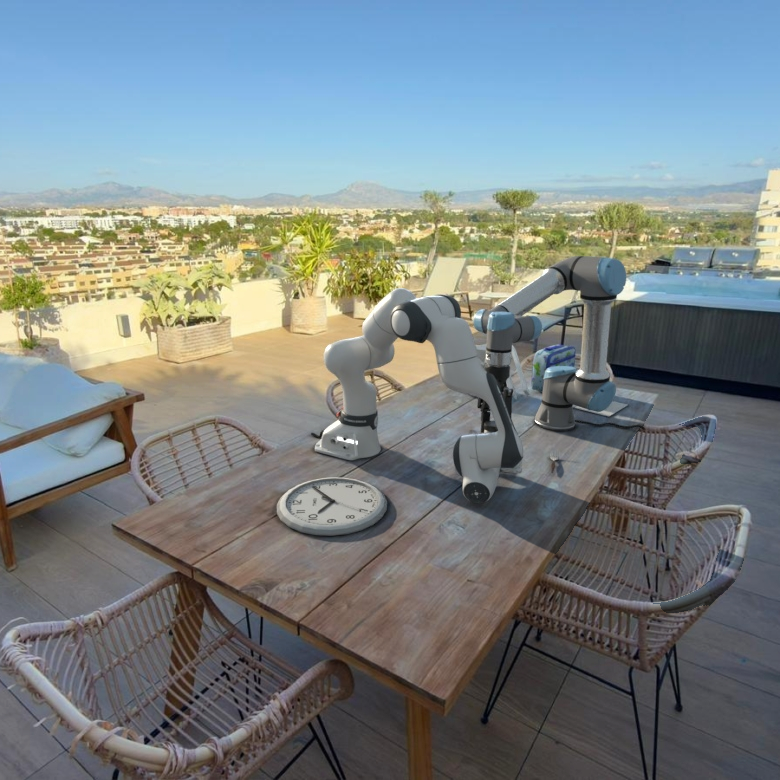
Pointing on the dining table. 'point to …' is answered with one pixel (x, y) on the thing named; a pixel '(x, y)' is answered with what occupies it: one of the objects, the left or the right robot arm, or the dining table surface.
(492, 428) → the lid
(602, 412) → the invitation card
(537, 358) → the lunch box
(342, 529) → the wall clock
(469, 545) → the dining table surface
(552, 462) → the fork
